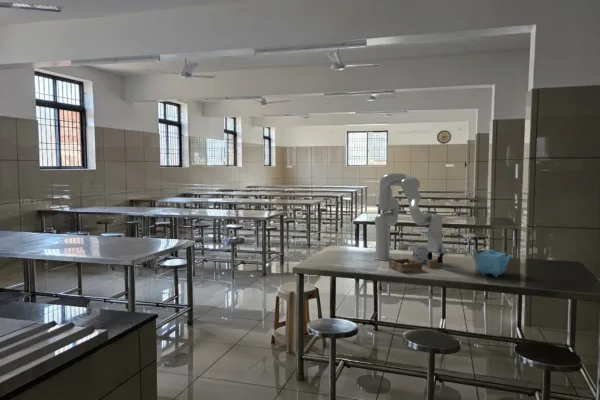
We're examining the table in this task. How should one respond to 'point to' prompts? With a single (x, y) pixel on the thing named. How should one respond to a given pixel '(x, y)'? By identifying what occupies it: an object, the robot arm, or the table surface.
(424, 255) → the ink box
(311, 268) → the table surface
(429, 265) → the lid
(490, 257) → the teakettle
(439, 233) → the robot arm
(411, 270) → the box
